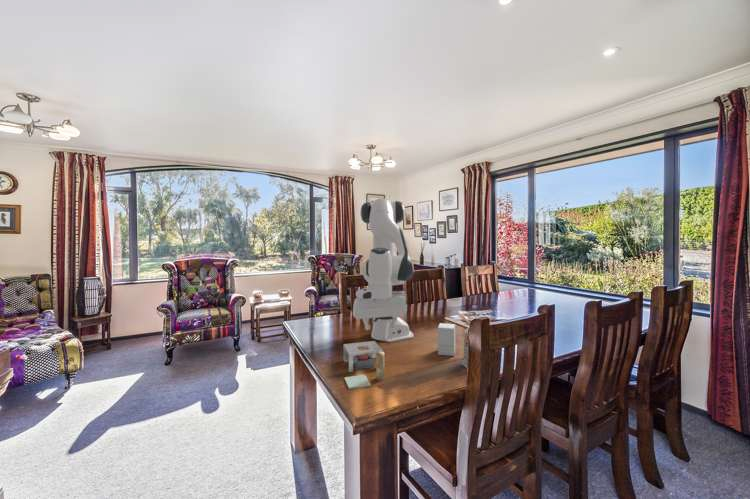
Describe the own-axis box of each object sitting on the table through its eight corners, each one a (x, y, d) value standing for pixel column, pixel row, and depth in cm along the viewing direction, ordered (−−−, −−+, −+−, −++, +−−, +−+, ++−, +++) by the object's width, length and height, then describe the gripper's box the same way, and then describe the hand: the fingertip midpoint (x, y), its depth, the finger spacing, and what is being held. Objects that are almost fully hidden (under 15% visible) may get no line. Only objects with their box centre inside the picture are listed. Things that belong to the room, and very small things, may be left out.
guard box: (374, 356, 141) (374, 340, 140) (383, 367, 129) (383, 350, 129) (343, 360, 137) (343, 344, 136) (349, 372, 125) (349, 354, 125)
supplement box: (455, 350, 148) (455, 324, 147) (454, 356, 141) (454, 328, 140) (439, 348, 150) (439, 322, 150) (437, 354, 143) (437, 327, 143)
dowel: (383, 376, 121) (383, 351, 121) (385, 380, 119) (385, 353, 118) (375, 377, 121) (375, 351, 120) (377, 381, 118) (377, 354, 117)
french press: (472, 371, 126) (472, 308, 125) (453, 360, 137) (454, 303, 135) (491, 366, 130) (492, 306, 129) (471, 356, 141) (472, 300, 139)
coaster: (364, 376, 122) (364, 374, 122) (370, 385, 114) (370, 384, 114) (344, 378, 120) (344, 377, 120) (348, 388, 112) (348, 387, 112)
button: (367, 357, 135) (367, 350, 134) (369, 361, 130) (369, 354, 130) (356, 358, 133) (356, 351, 133) (359, 362, 129) (359, 355, 129)
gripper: (403, 289, 124) (402, 324, 124) (351, 291, 118) (351, 328, 119) (409, 291, 118) (409, 328, 118) (355, 294, 112) (355, 333, 113)
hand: (380, 328), depth 118 cm, fingers open, 8 cm apart
